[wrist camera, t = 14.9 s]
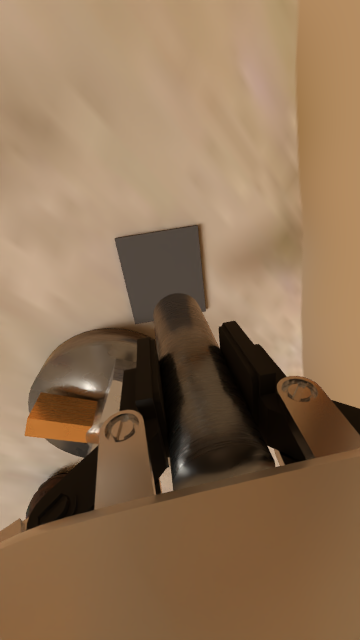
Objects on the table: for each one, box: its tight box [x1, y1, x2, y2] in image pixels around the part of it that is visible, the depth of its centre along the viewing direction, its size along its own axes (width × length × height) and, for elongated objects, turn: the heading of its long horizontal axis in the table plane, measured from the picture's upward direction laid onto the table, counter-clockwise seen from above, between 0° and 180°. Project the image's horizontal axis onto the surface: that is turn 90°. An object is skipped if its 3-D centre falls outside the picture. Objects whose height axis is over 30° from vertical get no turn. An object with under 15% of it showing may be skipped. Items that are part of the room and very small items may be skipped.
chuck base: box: [28, 328, 158, 458], centre depth 26 cm, size 15×15×3 cm
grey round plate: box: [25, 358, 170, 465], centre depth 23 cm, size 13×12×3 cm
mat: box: [115, 225, 206, 324], centre depth 23 cm, size 8×7×1 cm
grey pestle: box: [153, 293, 275, 491], centre depth 11 cm, size 3×3×10 cm
